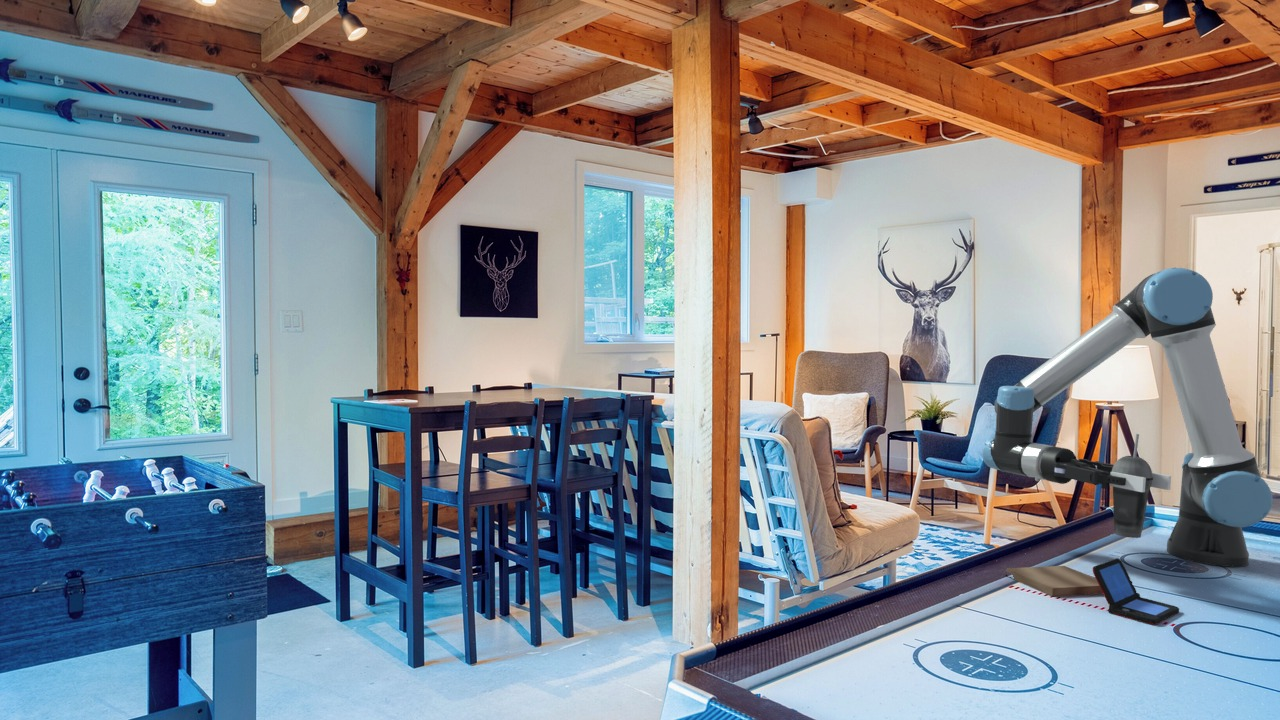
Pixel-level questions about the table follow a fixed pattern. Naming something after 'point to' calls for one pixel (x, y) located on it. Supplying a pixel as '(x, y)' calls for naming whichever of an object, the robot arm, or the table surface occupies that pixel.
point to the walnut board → (1056, 580)
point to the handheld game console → (1128, 595)
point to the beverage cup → (1131, 496)
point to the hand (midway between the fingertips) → (1156, 484)
